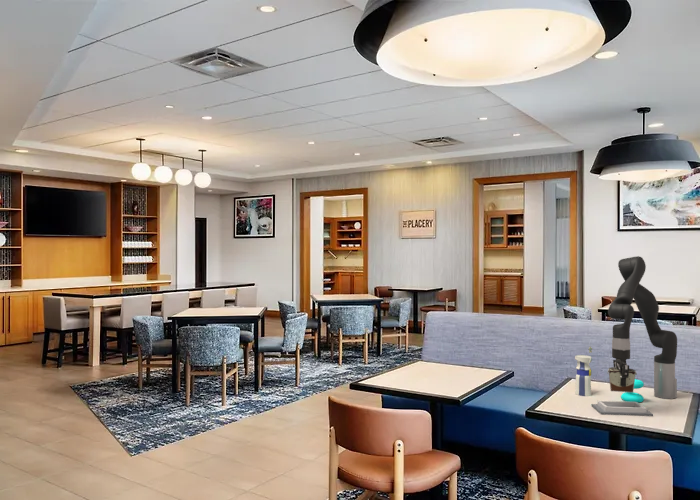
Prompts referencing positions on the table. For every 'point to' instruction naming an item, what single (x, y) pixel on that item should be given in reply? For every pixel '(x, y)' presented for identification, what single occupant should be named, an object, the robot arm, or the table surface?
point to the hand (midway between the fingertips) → (621, 384)
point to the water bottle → (583, 375)
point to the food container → (615, 380)
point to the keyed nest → (621, 408)
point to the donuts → (632, 395)
